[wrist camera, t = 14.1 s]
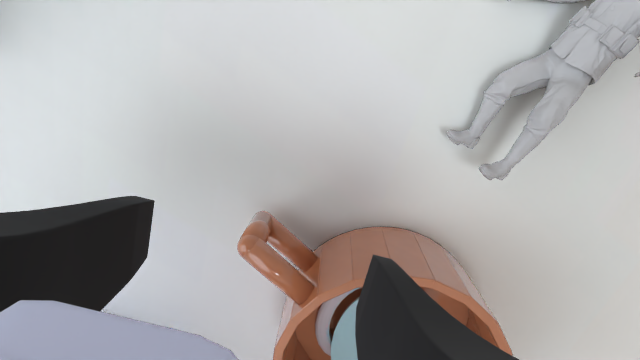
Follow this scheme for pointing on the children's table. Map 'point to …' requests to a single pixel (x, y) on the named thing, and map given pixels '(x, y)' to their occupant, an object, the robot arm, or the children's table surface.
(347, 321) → the pacifier
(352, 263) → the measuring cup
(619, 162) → the children's table surface
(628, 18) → the soldier figure
